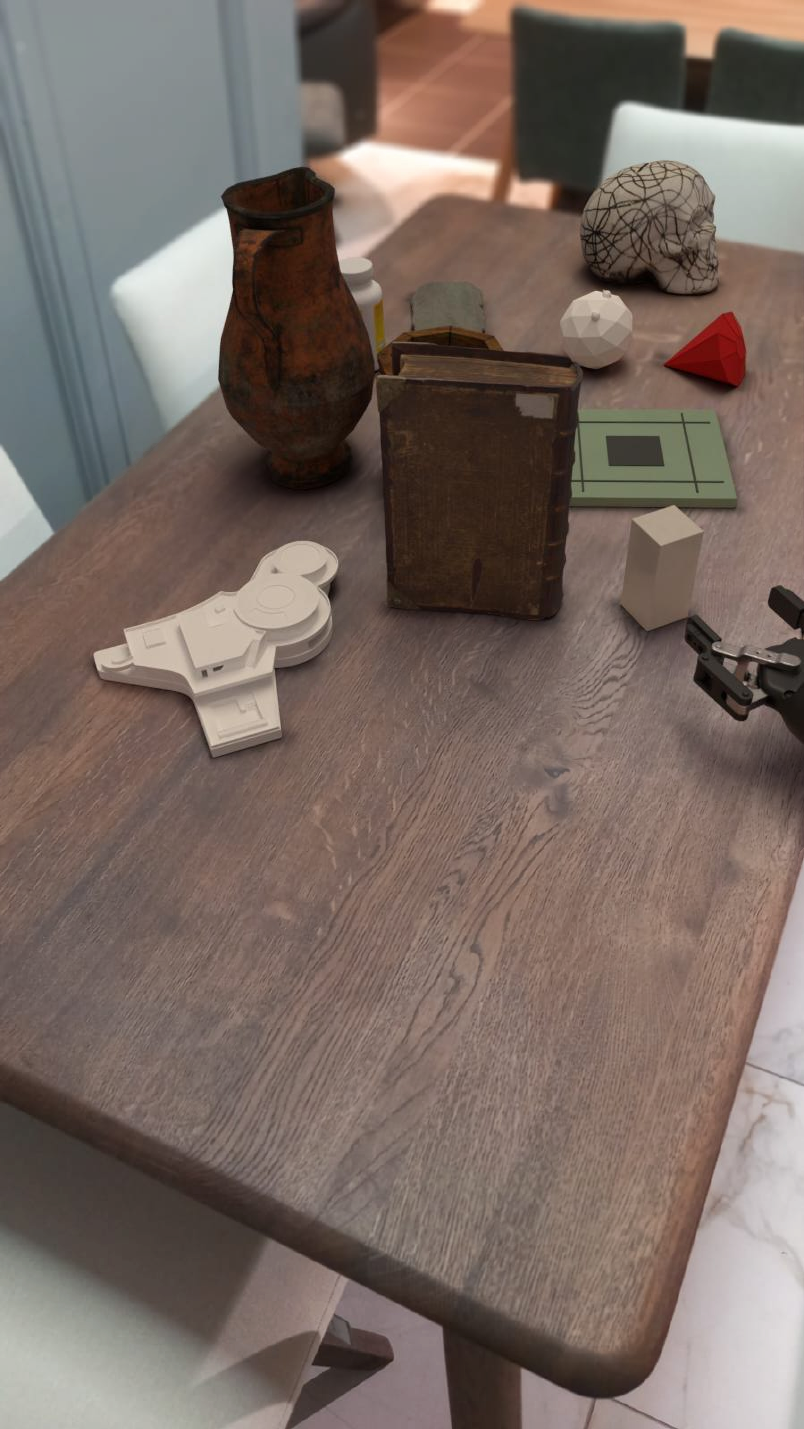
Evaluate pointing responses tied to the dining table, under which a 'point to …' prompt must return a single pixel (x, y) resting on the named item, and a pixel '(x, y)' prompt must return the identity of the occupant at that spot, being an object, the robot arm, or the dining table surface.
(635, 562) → the beige rectangular block
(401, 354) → the book
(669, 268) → the sculpture
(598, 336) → the decorative ball
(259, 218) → the pitcher
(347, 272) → the supplement bottle
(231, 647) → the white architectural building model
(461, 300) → the stone slab
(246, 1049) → the dining table surface
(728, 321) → the gemstone
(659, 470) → the grid board
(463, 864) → the dining table surface
